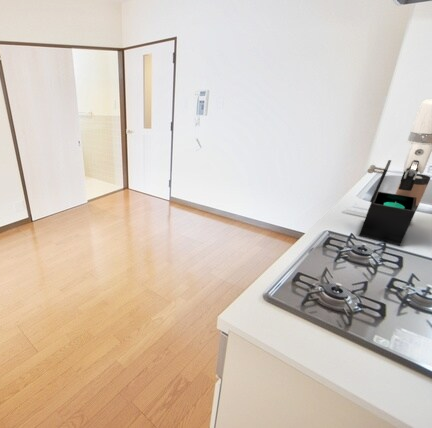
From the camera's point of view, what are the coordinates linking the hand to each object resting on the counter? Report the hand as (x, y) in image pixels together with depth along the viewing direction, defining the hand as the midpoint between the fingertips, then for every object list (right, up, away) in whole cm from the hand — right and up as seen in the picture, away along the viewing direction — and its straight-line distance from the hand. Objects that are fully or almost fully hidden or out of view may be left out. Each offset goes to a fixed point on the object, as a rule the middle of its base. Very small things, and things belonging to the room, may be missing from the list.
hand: (405, 186), depth 101 cm
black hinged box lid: (-5, +2, +4) cm, 6 cm away
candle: (+2, -16, +10) cm, 19 cm away
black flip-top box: (0, -18, +9) cm, 20 cm away
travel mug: (+14, -13, +17) cm, 26 cm away
